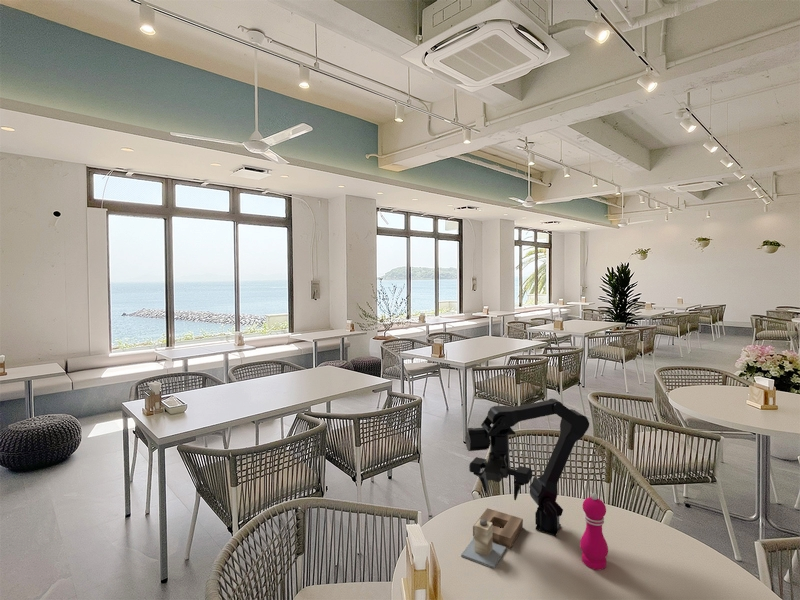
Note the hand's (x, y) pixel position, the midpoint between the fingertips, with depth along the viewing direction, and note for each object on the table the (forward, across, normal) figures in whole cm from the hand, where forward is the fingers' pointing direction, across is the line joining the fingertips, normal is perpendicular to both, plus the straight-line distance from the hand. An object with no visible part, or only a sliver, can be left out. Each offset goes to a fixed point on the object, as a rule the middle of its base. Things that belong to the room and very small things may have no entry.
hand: (500, 496), depth 135 cm
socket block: (+12, -1, 0) cm, 12 cm away
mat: (+12, -1, -12) cm, 17 cm away
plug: (+11, -2, -12) cm, 16 cm away
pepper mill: (+12, +27, -1) cm, 30 cm away
